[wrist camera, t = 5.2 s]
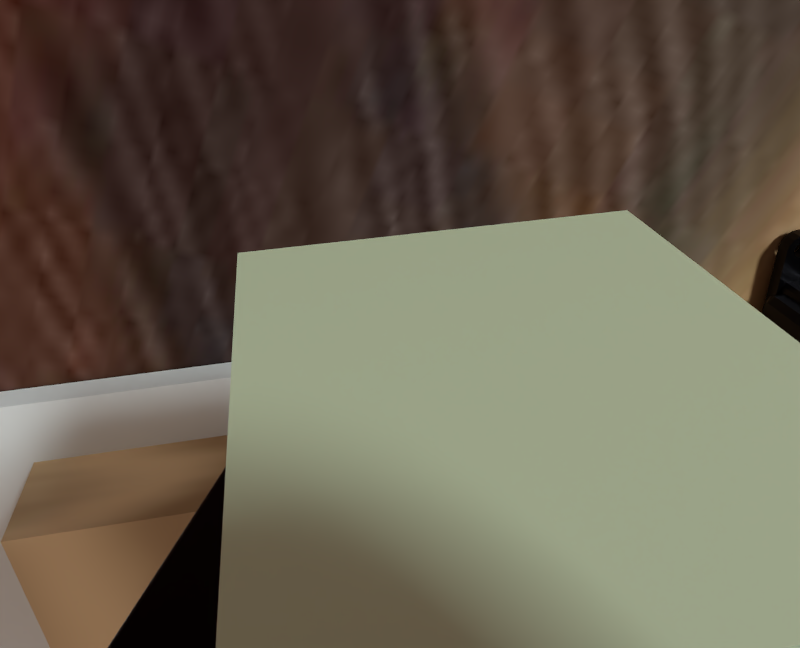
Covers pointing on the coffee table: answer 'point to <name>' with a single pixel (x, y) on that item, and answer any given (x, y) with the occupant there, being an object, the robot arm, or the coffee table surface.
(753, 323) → the top block
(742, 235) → the coffee table surface
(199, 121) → the coffee table surface
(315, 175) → the coffee table surface
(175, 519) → the base block
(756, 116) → the coffee table surface
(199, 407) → the white rectangular plate
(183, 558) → the robot arm
